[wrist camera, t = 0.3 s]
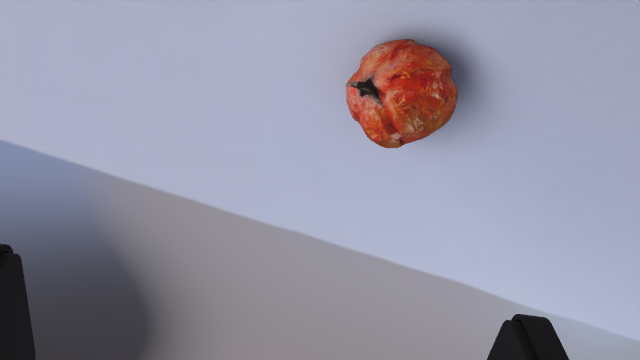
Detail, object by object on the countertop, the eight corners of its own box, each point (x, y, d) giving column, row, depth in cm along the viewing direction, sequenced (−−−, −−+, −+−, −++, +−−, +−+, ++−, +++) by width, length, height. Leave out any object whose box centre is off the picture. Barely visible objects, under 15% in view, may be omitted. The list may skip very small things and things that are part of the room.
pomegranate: (451, 42, 41) (376, -8, 33) (503, 113, 37) (433, 75, 30) (382, 106, 44) (300, 74, 37) (424, 177, 41) (344, 157, 33)
